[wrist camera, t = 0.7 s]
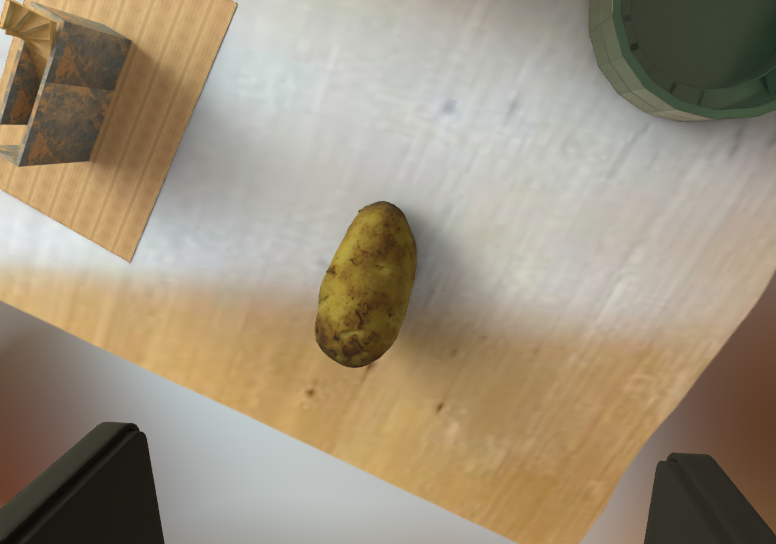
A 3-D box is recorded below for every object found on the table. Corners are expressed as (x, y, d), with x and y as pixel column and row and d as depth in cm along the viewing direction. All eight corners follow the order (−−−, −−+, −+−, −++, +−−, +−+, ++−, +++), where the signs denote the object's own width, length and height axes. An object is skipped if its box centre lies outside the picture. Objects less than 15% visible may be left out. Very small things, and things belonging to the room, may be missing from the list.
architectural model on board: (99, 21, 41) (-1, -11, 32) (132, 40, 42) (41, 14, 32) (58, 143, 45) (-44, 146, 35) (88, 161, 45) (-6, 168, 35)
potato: (456, 240, 43) (458, 264, 35) (377, 352, 47) (363, 395, 39) (376, 187, 43) (360, 199, 35) (302, 304, 46) (273, 338, 39)
